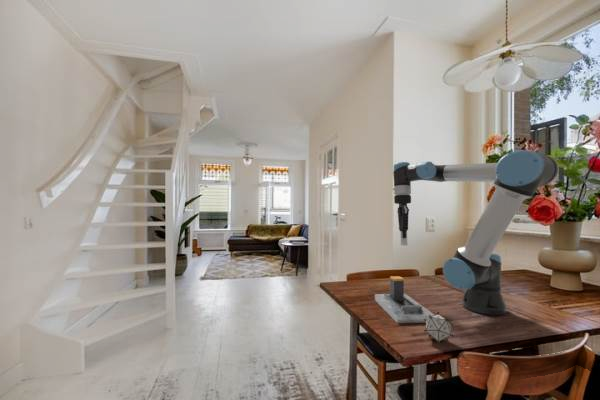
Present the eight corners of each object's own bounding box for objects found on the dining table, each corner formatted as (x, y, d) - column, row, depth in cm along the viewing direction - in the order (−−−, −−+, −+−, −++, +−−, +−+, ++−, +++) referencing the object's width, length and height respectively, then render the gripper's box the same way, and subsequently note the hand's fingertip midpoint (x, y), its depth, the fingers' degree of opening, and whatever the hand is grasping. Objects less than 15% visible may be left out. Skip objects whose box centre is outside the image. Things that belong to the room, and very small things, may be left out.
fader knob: (389, 296, 120) (389, 276, 120) (400, 296, 120) (400, 276, 120) (393, 300, 115) (393, 279, 115) (404, 300, 115) (405, 279, 115)
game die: (445, 354, 86) (466, 336, 81) (420, 345, 86) (440, 326, 81) (436, 328, 94) (455, 310, 89) (413, 320, 94) (431, 301, 89)
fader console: (374, 299, 124) (374, 289, 124) (405, 299, 125) (405, 289, 125) (397, 322, 100) (397, 310, 100) (435, 322, 101) (435, 309, 101)
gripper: (391, 196, 140) (392, 244, 138) (397, 193, 128) (398, 245, 125) (407, 196, 139) (408, 244, 137) (414, 193, 127) (416, 246, 124)
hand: (403, 245), depth 131 cm, fingers closed
